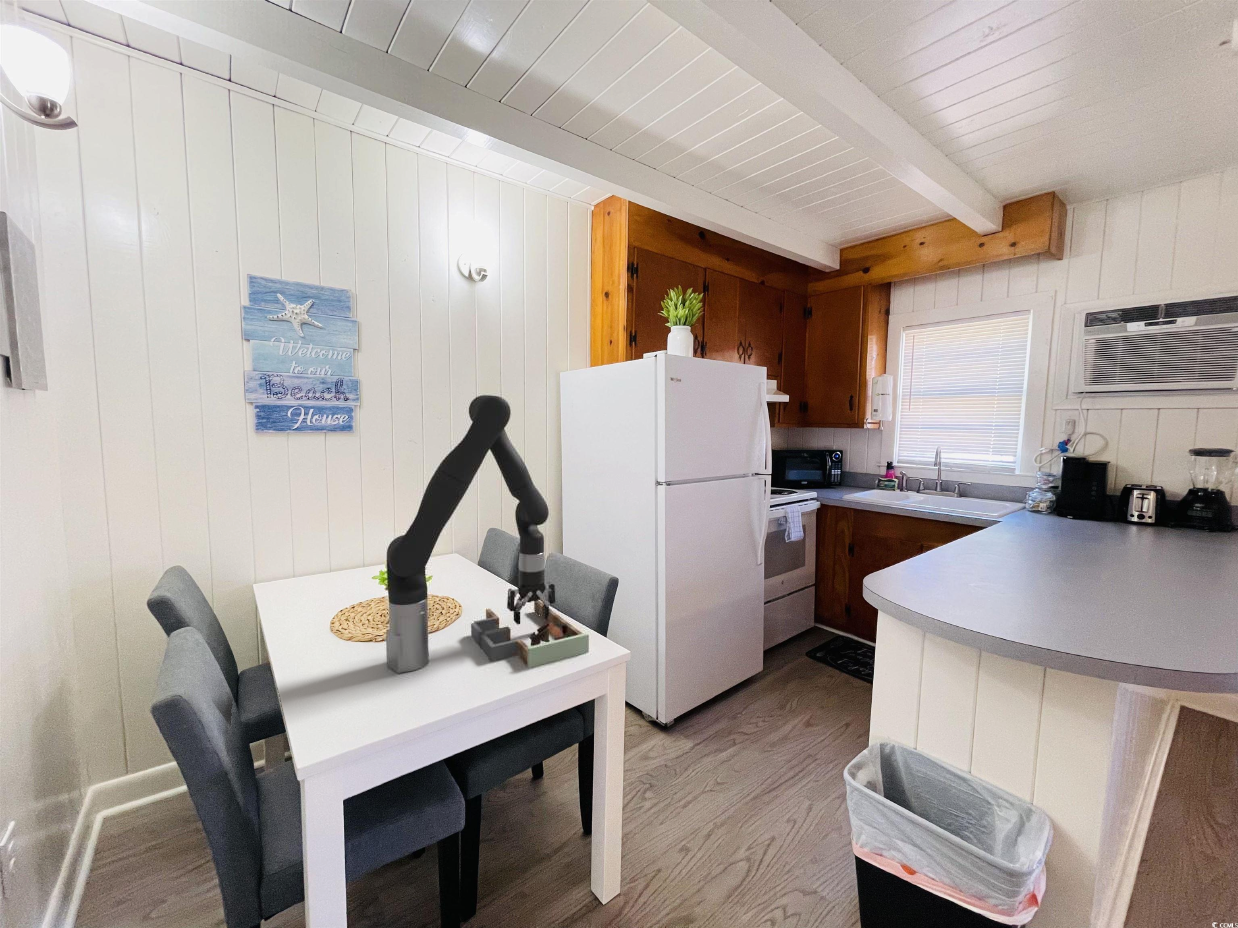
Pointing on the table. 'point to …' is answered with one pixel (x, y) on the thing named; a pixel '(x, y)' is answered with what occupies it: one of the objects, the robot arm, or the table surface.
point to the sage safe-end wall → (557, 650)
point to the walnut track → (551, 618)
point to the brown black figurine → (544, 633)
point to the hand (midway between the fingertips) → (531, 620)
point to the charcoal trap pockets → (493, 640)
